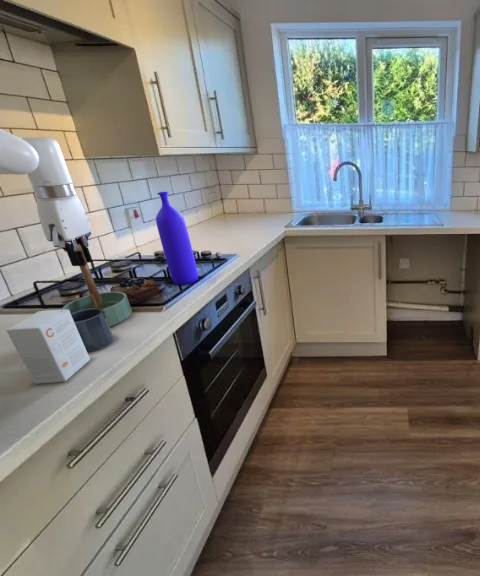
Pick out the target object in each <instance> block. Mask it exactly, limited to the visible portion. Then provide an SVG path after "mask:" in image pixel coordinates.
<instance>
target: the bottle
mask: <svg viewBox="0 0 480 576" xmlns="http://www.w3.org/2000/svg"><path fill="white" fill-rule="evenodd" d="M157 195H159V197H160V200H161V207H160V209H159V210H158V212H157V213H156V216H155V223H156V228H157V232H158V235H159V239H160V243H161V245H162V250H163V253H164V258H165V261H166V265H167V267H168V271H169V274H170V277H171V280H172V282H173V284H174V285H178V286H180V285H181V286H183V285H189V284H193V283H195V282H197V281H198V279H199V272H198V267H197V264H196V259H195V255H194V251H193V247H192V244H191V239H190V235H189V231H188V227H187V225H186V221H185V219H184V216H183V214H182V213H181V212H180V211H179V210H177V208H175V207H174V206H172V205H171V203H170V200H169V197H168V195H169V191H159V192H157Z"/></svg>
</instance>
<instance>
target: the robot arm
mask: <svg viewBox="0 0 480 576" xmlns="http://www.w3.org/2000/svg"><path fill="white" fill-rule="evenodd" d="M0 175H16V176H17V175H18V176H19V175H21V176H22V175H27V177H28V179H29V182H30V184H31V187H32V189H33V192H34V194H35V197H36V199H37V200H36V201H35V204H36V210H37V211H36V212H37V215H38V219H39V222H40V225H41V228H42V231H43V233H44V236H45V238H46V240H47V242H51V243H52V246H53V247H54V248H60V249H62V250H63V251H64V253H66V254H67V256H68V259H69V262H70V264H71V267H79V266H85V265H86V261H87V264H88V263H92V262H93V261H94V260H93V258H92V255H91V252H90V250H89V245H90V244H89V238H90V237H91V235H92V232H91V231H92V226H91V223H90V220H89V218H88V215H87V212H86V211H85V208H84V206H83V204H82V201H81V200H80V198H79V197H78V194H77V192H76V188H75V185H74V183H73V180H72V177H71V174H70V171H69V169H68V165H67V162H66V159H65V157H64V154H63V151H62V148H61V146H60V144H59V142H58V141H57V140H56V139H55V138H53V137H49V136H48V137H46V136H45V137H44V136H41V137H40V136H39V137H38V136H34V137H31V136H30V137H19V136H17V135H16V134H13V133H11V132H8V131H6V130H4V129H2V128H0ZM77 243H78V244H80V245H81V247H82V250H83V253H84V256H85V258H86V261H85V259H84V256H83V253H82V251H81V250H79V248H78V245H77Z"/></svg>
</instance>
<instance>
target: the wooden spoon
mask: <svg viewBox="0 0 480 576" xmlns="http://www.w3.org/2000/svg"><path fill="white" fill-rule="evenodd" d="M77 245H78V248H79V250H81V251H82V253H83V250H82V247H81V245H80V244H78V243H77ZM83 256H84V253H83ZM84 259H85V261H86V258H85V256H84ZM78 267H79V270H80V272H81V275H82V277H83V280H84V283H85V284H86V285H85V286H86V288H87V290H88V293H89V294H88V296H90V299H91V301H92V304H93V307H94V308H100V309H102V308H103V307H104V304H103V301H102V299H101V296H100V293H101V292H100V290H98V288H97V286H96V283H95V280H94V277H93V275H92V272H91V269H90V266H89V264H88V263H87V261H86V265H85V266H78Z"/></svg>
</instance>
